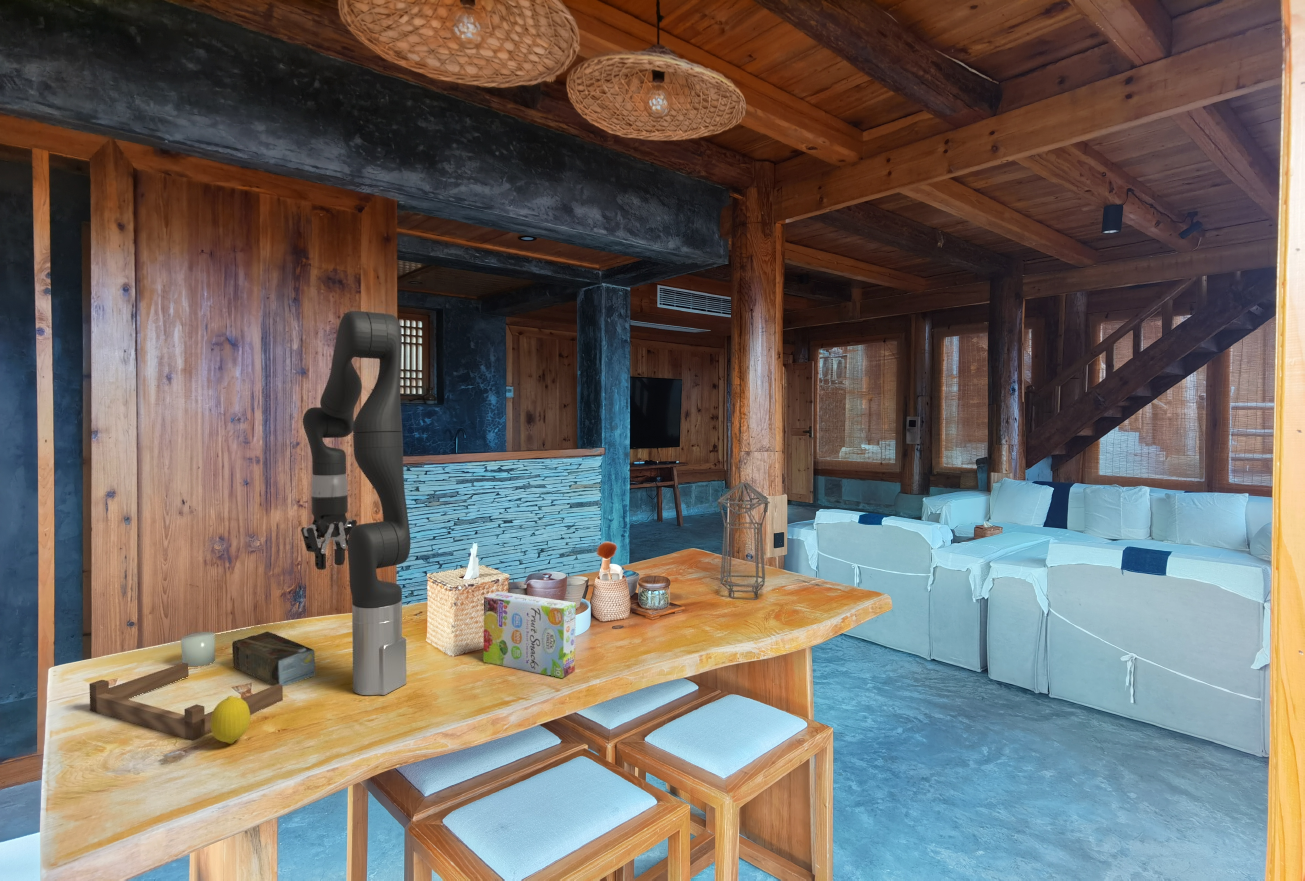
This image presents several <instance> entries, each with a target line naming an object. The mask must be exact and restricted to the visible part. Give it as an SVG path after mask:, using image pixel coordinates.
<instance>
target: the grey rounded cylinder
mask: <svg viewBox="0 0 1305 881" xmlns="http://www.w3.org/2000/svg"><path fill="white" fill-rule="evenodd" d="M180 642H181V664H182V663H188V667H198V666H204V665H207V664H210V663H212V664H214V663H215V662H216V634H215V633H214V632H212V631H200V632H199V631H198V632H194V633H189V634H187V635H185V636H182V637H181V641H180ZM214 661H215V662H214ZM213 662H214V663H213ZM210 665H211V664H210Z"/></svg>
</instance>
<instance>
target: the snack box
mask: <svg viewBox="0 0 1305 881" xmlns="http://www.w3.org/2000/svg"><path fill="white" fill-rule="evenodd" d="M576 605H577V603H576V602H575V601H574V602H573V601H567V600H559V599H553V598H547V597H546V598H545V597H542V596H541V597H540V596H534V595H533V596H532V595H527V594H518V593H514V592H513V593H511V592H505V591H495V592H493V593H490V594H487V595H485V596H484V597H483V658H482V659H483V662H484V663H488V664H493V665H498V666H502V667H507V668H511V669H517V670H522V671H525V672H530V673H535V674H539V675H540V674H541V675H545V676H549V675H551V676H550V677H554V676H555V678H558V679H564V678H565V677H567V676H568V675H570V674H572V673H573V671H574V672H575V670H576V620H577V619H576V615H577V614H576V612H577V611H576V608H577V607H576ZM571 672H572V673H571ZM566 675H567V676H566Z"/></svg>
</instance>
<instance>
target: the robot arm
mask: <svg viewBox="0 0 1305 881" xmlns="http://www.w3.org/2000/svg"><path fill="white" fill-rule="evenodd" d="M402 339H403V338H402V329H401V323H400V321H399V319H398V318H397V317H396V316H395V315H394V314H390V313H384V312H383V313H382V312H373V311H365V310H364V311H362V310H349V311H347V312H345V313H344V314H343V316H342V318H341V319H340V322H339V325H338V328H337V333H336V338H335V343H334V347H333V352H332V353H333V354H332V359H331V360H332V361H331V367H330V372H329V376H328V379H327V382H326V385H325V387H324V390H323V391H322V394H321V397H320V407H319V406H316V407H315V406H314V407H310V408H308V409H307V410H305V412H304V414H303V417H302V426H303V430H304V431H305V432H304V433H305V434H306V435H305V436H306V438H307V441H308V445H309V447H310V452H311V463H312V464H311V465H312V470H311V471H312V475H311V476H312V477H311V478H312V479H311V489H310V492H311V494H310V495H311V514H312V516H313V520H312V522H311V524H310V525H309V526H307V527H306V526H303V527H301V529H300V531H301V535H302V538H303V543H304V545H305V549H306V551H307V552H309V553H313V554H314V566H315V568H316V570H320V571H324V570H325V569H327V553H326V550H327V547H328V544H329V543H330V540H331V541H332V542H333V544H334V547H335V548H334V553H333V554H334V564H335V565H336V566H343V565H344V564H345V561H346V548H347V559H348V575H349V589H350V593H351V604H352V605H351V606H352V608H351V609H352V610H351V611H352V612H351V613H352V614H351V615H352V618H351V619H352V622H351V623H352V625H351V626H352V627H351V628H352V632H351V633H352V637H351V638H352V690H353V692H354V693H355V694H358V695H361V696H362V695H363V696H375V695H380V696H381V695H382V696H386V695H387V694H389V693H391V692H393V691H395V690H397V689H398V688H401V687H403V686H406V685H407V638H406V637H403V590H402V587H401V585H400V584H397V583H394V582H391V581H384V580H380V579H378V574H377V570H378V569H384V568H388V567H394V566H399V565H402V564H404V563H405V562H407V560H408V558H409V556H410V553H411V545H412V544H411V541H412V540H411V530H410V523H409V516H408V507H407V500H406V493H405V476H404V442H403V440H404V438H403V422H402V418H403V417H402V405H401V403H402V402H401V370H402V368H401V367H402V351H403V350H402V349H403V348H402V347H403V346H402V344H403V343H402V341H403V340H402ZM354 358H360V359H375V360H377V359H378V360H379V367H378V368H379V370H378V375H377V379H376V381H375V384H374V387H373V389H372V391H371V392H370V394H369V396H368V397H367V399H366V400H365V401H364V403H363V405H362V406H361V408H360V409H359V411H358V412H357V415H356V417H355V418H354V414H355V413H354V412H355V407H356V405H357V403H358V401H359V399H360V397H361V393H362V390H363V384H362V380H361V377H360V375H359V373H358V372H357V370H356V368H355V366H354V364H353V362H352V360H353V359H354ZM351 434H352V441H353V456H354V460H355V462H356V464H357V466H358V468H359V469H360V470H361V472H362V473H363V475H364V476H365V477H366V479H367V480H368V482H369V484H370V485H371V486H372V488H373V489H374V490H375V491H376V494H377V496H378V498H379V501H380V505H381V510H382V521H373V522H367V523H360V524H357V523H358V520H356V519H349V518H347V516H346V514H347V513H348V512H349V506H348V505H349V502H348V496H349V495H348V493H349V492H348V488H349V487H348V478H347V454H346V452H345V450H343V449H341V448H336V447H331V446H327V444H326V443H325V442H324V440H323V439H333V438H334V439H339V438H341V439H342V438H346V437H348V436H350V435H351Z"/></svg>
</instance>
